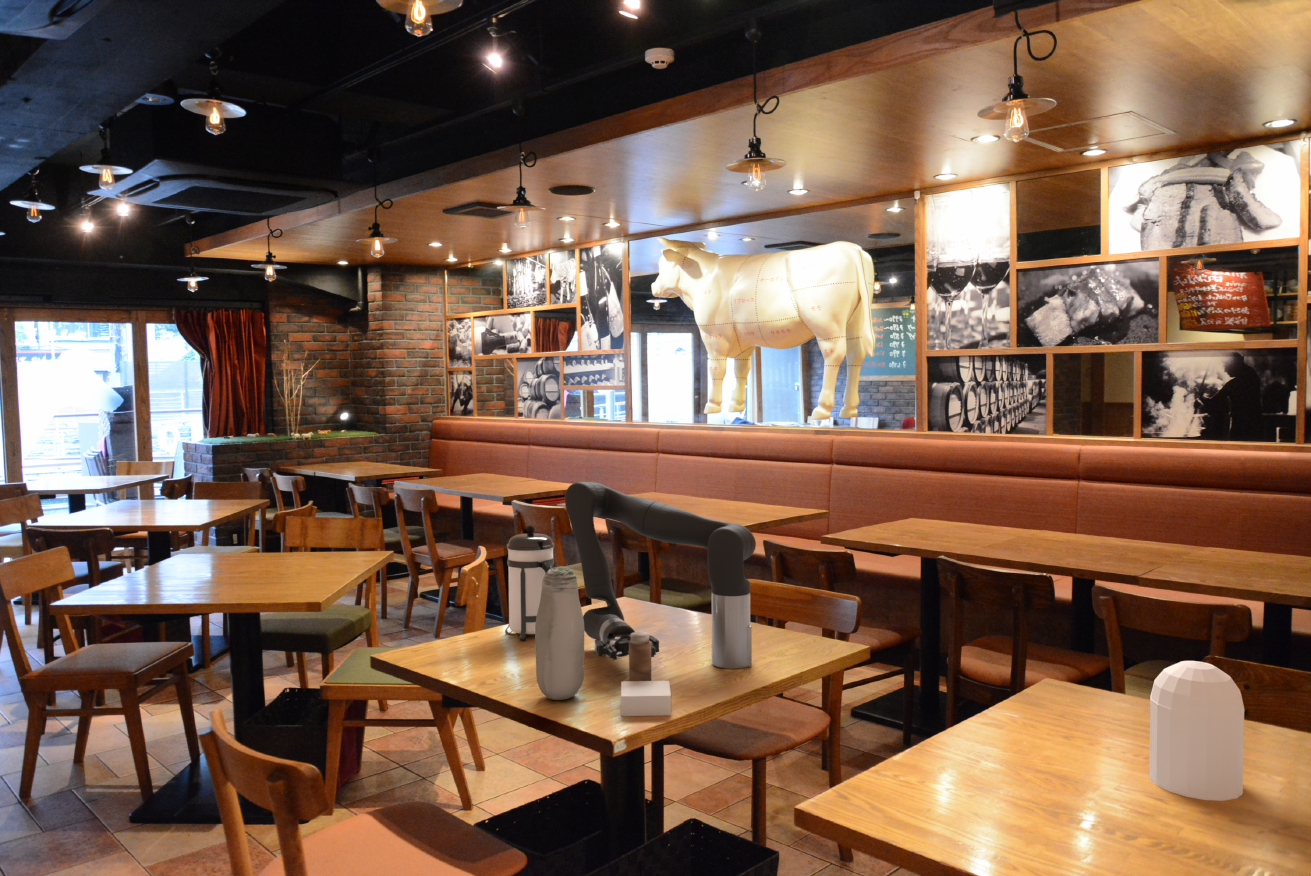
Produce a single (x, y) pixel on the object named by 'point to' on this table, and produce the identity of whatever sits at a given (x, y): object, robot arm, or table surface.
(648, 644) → the pepper mill
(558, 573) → the grey vase
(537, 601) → the coffee press
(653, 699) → the riser block
